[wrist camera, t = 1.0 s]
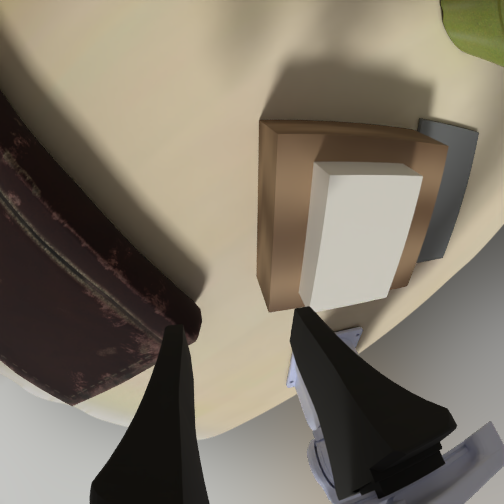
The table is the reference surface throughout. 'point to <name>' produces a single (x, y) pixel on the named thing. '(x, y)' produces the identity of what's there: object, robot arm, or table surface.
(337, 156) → the brown shallow square box
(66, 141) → the table surface
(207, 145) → the table surface
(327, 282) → the off-white rectangular block
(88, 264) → the diary
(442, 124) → the mat
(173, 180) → the table surface
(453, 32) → the plant pot
